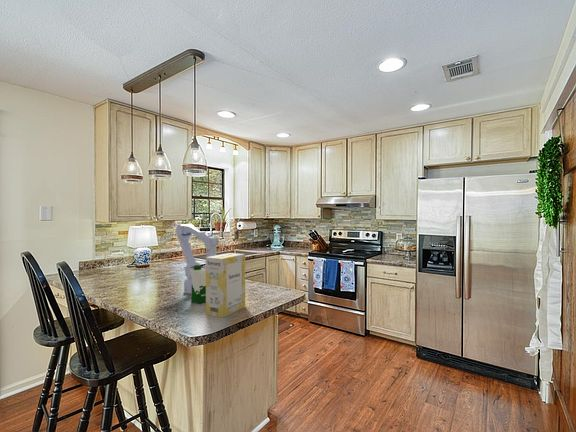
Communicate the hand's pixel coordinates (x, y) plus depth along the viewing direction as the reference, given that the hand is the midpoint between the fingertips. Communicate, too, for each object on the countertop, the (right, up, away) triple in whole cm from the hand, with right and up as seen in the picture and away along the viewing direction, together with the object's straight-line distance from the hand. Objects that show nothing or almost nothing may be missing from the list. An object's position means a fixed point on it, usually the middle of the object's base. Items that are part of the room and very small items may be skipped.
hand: (211, 279), depth 177 cm
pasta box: (+14, -10, -26) cm, 31 cm away
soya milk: (-4, -10, -11) cm, 15 cm away
